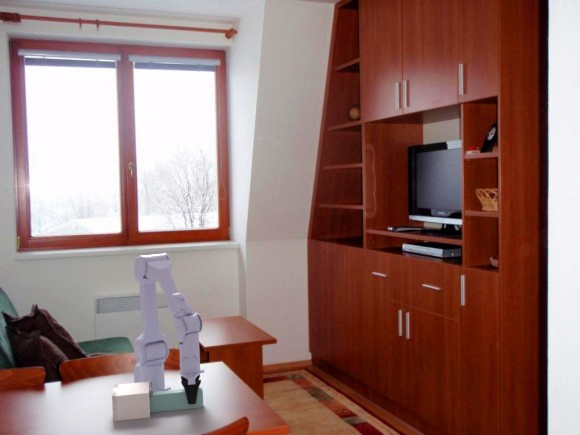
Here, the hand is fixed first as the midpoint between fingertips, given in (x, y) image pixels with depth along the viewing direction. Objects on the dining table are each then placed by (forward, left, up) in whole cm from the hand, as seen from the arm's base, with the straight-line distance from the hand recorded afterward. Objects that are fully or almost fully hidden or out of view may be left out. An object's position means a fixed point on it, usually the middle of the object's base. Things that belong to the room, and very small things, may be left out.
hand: (191, 401), depth 186 cm
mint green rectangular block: (-3, -3, -1) cm, 5 cm away
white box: (-12, -12, -1) cm, 17 cm away
